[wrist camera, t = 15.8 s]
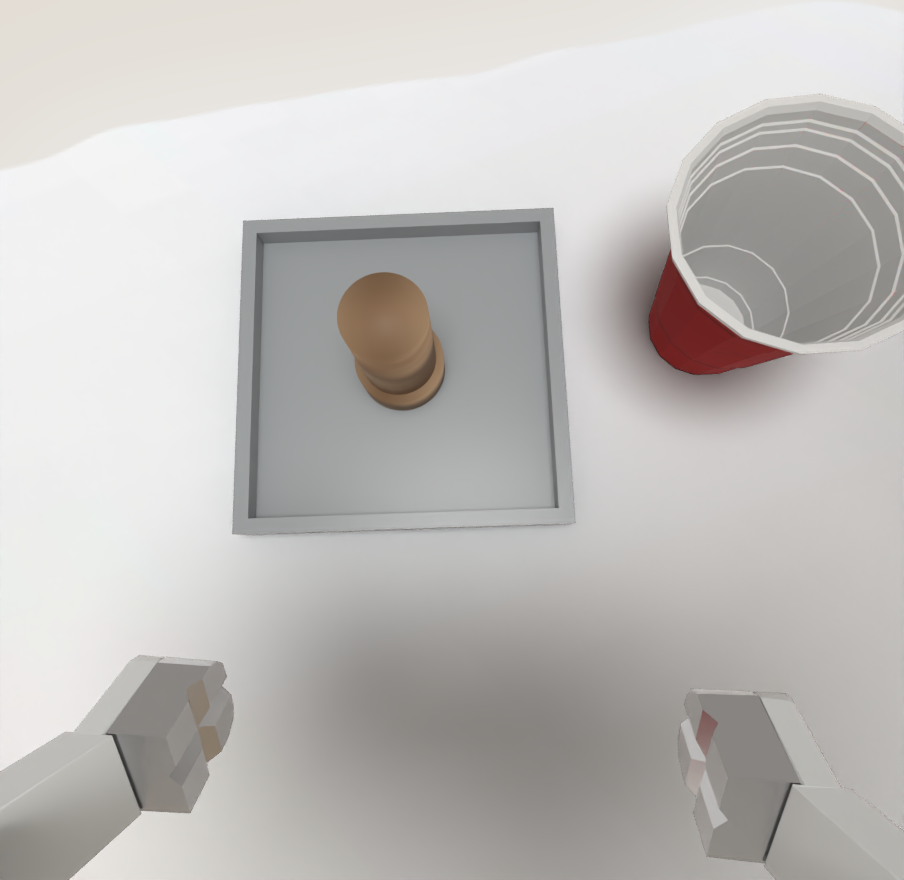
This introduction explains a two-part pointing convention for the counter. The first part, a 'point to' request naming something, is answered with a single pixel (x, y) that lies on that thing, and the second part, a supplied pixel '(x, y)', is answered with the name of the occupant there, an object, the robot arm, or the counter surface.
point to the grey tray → (411, 431)
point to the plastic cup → (784, 237)
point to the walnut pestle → (392, 340)
